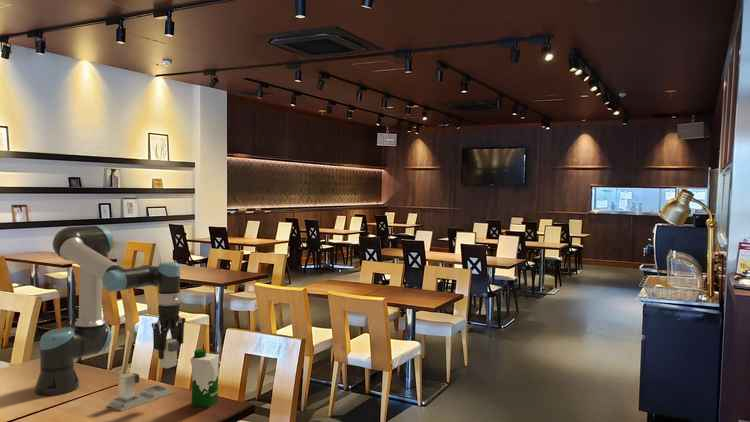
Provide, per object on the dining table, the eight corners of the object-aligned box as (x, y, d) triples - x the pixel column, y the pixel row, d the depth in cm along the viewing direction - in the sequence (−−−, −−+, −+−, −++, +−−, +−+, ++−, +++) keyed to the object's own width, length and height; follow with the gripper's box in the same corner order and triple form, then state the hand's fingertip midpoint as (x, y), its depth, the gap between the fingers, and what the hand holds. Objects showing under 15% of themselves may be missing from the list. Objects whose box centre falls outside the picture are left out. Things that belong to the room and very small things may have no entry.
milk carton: (199, 398, 214) (200, 347, 213) (221, 400, 212) (221, 348, 211) (187, 407, 205) (188, 353, 205) (210, 409, 203) (210, 355, 203)
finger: (160, 366, 208) (160, 339, 208) (169, 363, 212) (169, 337, 211) (170, 369, 205) (170, 342, 205) (179, 366, 208) (179, 340, 208)
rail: (107, 406, 205) (107, 376, 204) (159, 389, 223) (159, 362, 223) (120, 411, 200) (120, 381, 200) (172, 393, 219) (172, 365, 218)
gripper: (155, 308, 199) (155, 373, 200) (194, 301, 213) (193, 361, 214) (142, 306, 203) (142, 369, 204) (181, 299, 217) (180, 358, 218)
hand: (168, 365), depth 209 cm, fingers closed on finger, 4 cm apart
